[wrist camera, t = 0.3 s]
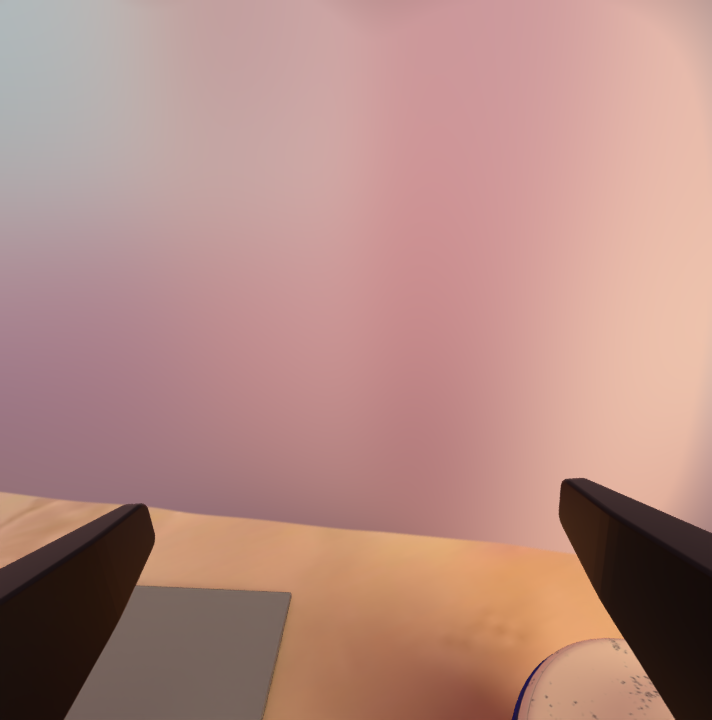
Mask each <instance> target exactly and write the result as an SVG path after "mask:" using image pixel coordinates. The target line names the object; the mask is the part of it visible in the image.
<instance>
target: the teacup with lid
mask: <svg viewBox="0 0 712 720" xmlns="http://www.w3.org/2000/svg"><path fill="white" fill-rule="evenodd" d="M512 720H675V719H674V717H673V715H672V714H671V712H670V711H669V709H668V708H667V706H666V704H665V703H664V701H663V700H662V698H661V696H660V695H659V693H658V692H657V690H656V688H655V687H654V685H653V684H652V682H651V680H650V679H649V677H648V676H647V674H646V672H645V671H644V669H643V668H642V666H641V665H640V663H639V661H638V660H637V658H636V657H635V655H634V653H633V652H632V650H631V649H630V647H629V645H628V644H627V642H626V641H625V639H612V638H602V639H590V640H585V641H580V642H576V643H573V644H571V645H568V646H566V647H564V648H562V649H560V650H558V651H556V652H555V653H554V654H552V655H550V656H549V657H548V658H546V659H545V660H543V661H542V662H541V663H540V664H539V665H538V666H537V667H536V668H535V669H534V671H533V672H532V673H531V675H530V676H529V677H528V679H527V681H526V682H525V684H524V686H523V688H522V690H521V692H520V694H519V697H518V700H517V702H516V705H515V709H514V713H513V717H512Z"/></svg>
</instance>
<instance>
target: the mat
mask: <svg viewBox="0 0 712 720" xmlns="http://www.w3.org/2000/svg"><path fill="white" fill-rule="evenodd" d="M290 601H291V593H289V592H267V591H245V590H223V589H200V588H178V587H156V586H135V588H134V590H133V592H132V595H131V597H130V599H129V601H128V603H127V606H126V608H125V610H124V612H123V614H122V616H121V618H120V620H119V622H118V624H117V626H116V628H115V630H114V631H113V633H112V635H111V637H110V639H109V641H108V642H107V644H106V646H105V648H104V650H103V651H102V653H101V655H100V657H99V658H98V660H97V662H96V664H95V666H94V667H93V669H92V671H91V673H90V675H89V676H88V678H87V680H86V682H85V683H84V685H83V687H82V689H81V691H80V692H79V694H78V696H77V698H76V700H75V701H74V703H73V705H72V707H71V709H70V710H69V712H68V714H67V716H66V717H65V719H64V720H262V719H263V715H264V711H265V707H266V702H267V698H268V694H269V690H270V685H271V681H272V677H273V673H274V668H275V664H276V660H277V656H278V652H279V647H280V643H281V639H282V635H283V630H284V626H285V622H286V618H287V613H288V609H289V605H290Z"/></svg>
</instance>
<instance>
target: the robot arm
mask: <svg viewBox="0 0 712 720" xmlns="http://www.w3.org/2000/svg"><path fill="white" fill-rule="evenodd" d="M559 518H560V522H561V524H562V527H563V529H564V531H565V532H566V534H567V536H568V538H569V540H570V542H571V544H572V546H573V548H574V550H575V552H576V554H577V556H578V558H579V560H580V562H581V564H582V566H583V568H584V570H585V572H586V574H587V576H588V578H589V580H590V582H591V584H592V586H593V588H594V589H595V591H596V593H597V595H598V597H599V599H600V600H601V602H602V604H603V605H604V607H605V609H606V610H607V612H608V614H609V615H610V617H611V618H612V620H613V622H614V623H615V625H616V626H617V628H618V629H619V631H620V633H621V634H622V636H623V637H624V639H625V641H626V642H627V644H628V645H629V647H630V649H631V650H632V652H633V653H634V655H635V657H636V658H637V660H638V661H639V663H640V665H641V666H642V668H643V669H644V671H645V672H646V674H647V676H648V677H649V679H650V680H651V682H652V684H653V685H654V687H655V688H656V690H657V692H658V693H659V695H660V696H661V698H662V700H663V701H664V703H665V704H666V706H667V708H668V709H669V711H670V712H671V714H672V715H673V717H674V719H675V720H712V533H710V532H708V531H706V530H703V529H701V528H699V527H696V526H694V525H692V524H690V523H687V522H685V521H683V520H680V519H678V518H676V517H673V516H671V515H669V514H666V513H664V512H662V511H659V510H657V509H655V508H653V507H650V506H648V505H646V504H643V503H641V502H639V501H636V500H634V499H632V498H629V497H627V496H625V495H622V494H620V493H618V492H615V491H613V490H611V489H609V488H606V487H604V486H602V485H599V484H597V483H595V482H592V481H590V480H587V479H585V478H573V479H565V480H563V481H562V484H561V490H560V503H559ZM154 542H155V533H154V529H153V525H152V521H151V518H150V514H149V510H148V507H147V506H146V505H145V504H142V503H141V504H126V505H123V506H121V507H119V508H117V509H115V510H113V511H111V512H109V513H107V514H105V515H103V516H101V517H100V518H98V519H96V520H94V521H92V522H90V523H88V524H86V525H84V526H82V527H80V528H78V529H76V530H74V531H73V532H71V533H69V534H67V535H65V536H63V537H61V538H59V539H57V540H55V541H53V542H51V543H49V544H47V545H46V546H44V547H42V548H40V549H38V550H36V551H34V552H32V553H30V554H28V555H26V556H24V557H22V558H20V559H18V560H17V561H15V562H13V563H11V564H9V565H7V566H5V567H3V568H1V569H0V720H64V719H65V717H66V716H67V714H68V712H69V710H70V709H71V707H72V705H73V703H74V701H75V700H76V698H77V696H78V694H79V692H80V691H81V689H82V687H83V685H84V683H85V682H86V680H87V678H88V676H89V675H90V673H91V671H92V669H93V667H94V666H95V664H96V662H97V660H98V658H99V657H100V655H101V653H102V651H103V650H104V648H105V646H106V644H107V642H108V641H109V639H110V637H111V635H112V633H113V631H114V630H115V628H116V626H117V624H118V622H119V620H120V618H121V616H122V614H123V612H124V610H125V608H126V606H127V603H128V601H129V599H130V597H131V595H132V592H133V590H134V588H135V586H136V584H137V581H138V579H139V577H140V575H141V573H142V570H143V568H144V566H145V564H146V562H147V559H148V557H149V555H150V553H151V551H152V548H153V546H154Z"/></svg>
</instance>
